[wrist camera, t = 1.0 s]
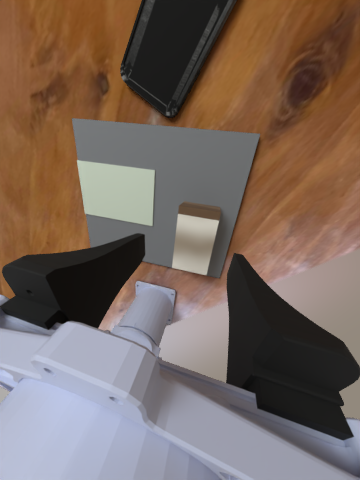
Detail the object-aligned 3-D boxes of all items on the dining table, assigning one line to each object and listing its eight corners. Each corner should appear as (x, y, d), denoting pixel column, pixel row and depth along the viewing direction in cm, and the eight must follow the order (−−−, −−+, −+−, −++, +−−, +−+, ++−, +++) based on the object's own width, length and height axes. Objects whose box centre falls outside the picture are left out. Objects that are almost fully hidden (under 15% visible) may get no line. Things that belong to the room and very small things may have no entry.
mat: (219, 276, 25) (219, 278, 25) (93, 248, 29) (91, 249, 28) (258, 135, 17) (260, 134, 17) (75, 119, 20) (72, 118, 20)
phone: (117, 76, 17) (197, -172, 11) (122, 82, 18) (198, -142, 12) (172, 120, 18) (280, -89, 11) (174, 124, 19) (275, -68, 12)
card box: (207, 262, 24) (206, 275, 21) (177, 256, 25) (171, 267, 22) (219, 206, 20) (221, 212, 17) (184, 201, 21) (179, 205, 18)
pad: (155, 170, 20) (154, 170, 20) (152, 225, 24) (152, 226, 23) (78, 160, 22) (77, 160, 22) (85, 213, 25) (85, 213, 25)
